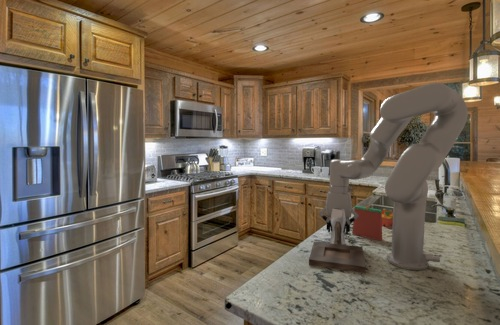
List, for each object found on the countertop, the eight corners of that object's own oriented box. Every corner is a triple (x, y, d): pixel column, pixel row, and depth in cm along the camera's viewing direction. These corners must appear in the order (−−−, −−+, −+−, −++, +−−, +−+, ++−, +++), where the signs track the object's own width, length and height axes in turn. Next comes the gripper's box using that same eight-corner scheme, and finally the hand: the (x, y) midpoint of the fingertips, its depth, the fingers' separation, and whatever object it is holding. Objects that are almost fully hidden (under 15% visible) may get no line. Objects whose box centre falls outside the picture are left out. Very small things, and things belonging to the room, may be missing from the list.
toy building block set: (352, 234, 126) (353, 203, 125) (380, 219, 151) (381, 194, 150) (380, 241, 118) (381, 208, 117) (405, 224, 142) (406, 197, 141)
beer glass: (343, 247, 109) (344, 210, 108) (326, 243, 114) (327, 207, 113) (348, 242, 115) (349, 207, 114) (332, 239, 119) (333, 204, 118)
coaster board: (362, 252, 105) (362, 246, 105) (366, 273, 88) (366, 266, 88) (313, 246, 111) (314, 241, 110) (308, 264, 94) (308, 259, 93)
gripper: (361, 189, 114) (359, 231, 115) (318, 187, 119) (317, 227, 120) (362, 192, 107) (360, 237, 108) (316, 189, 112) (315, 233, 113)
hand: (337, 232), depth 114 cm, fingers closed on beer glass, 6 cm apart
